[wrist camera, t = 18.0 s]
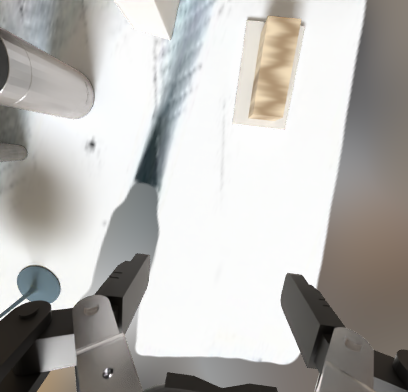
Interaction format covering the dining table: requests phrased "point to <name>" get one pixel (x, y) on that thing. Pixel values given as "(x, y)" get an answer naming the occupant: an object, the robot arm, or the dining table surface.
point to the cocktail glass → (36, 286)
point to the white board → (247, 78)
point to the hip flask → (12, 152)
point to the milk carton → (150, 15)
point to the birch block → (274, 68)
